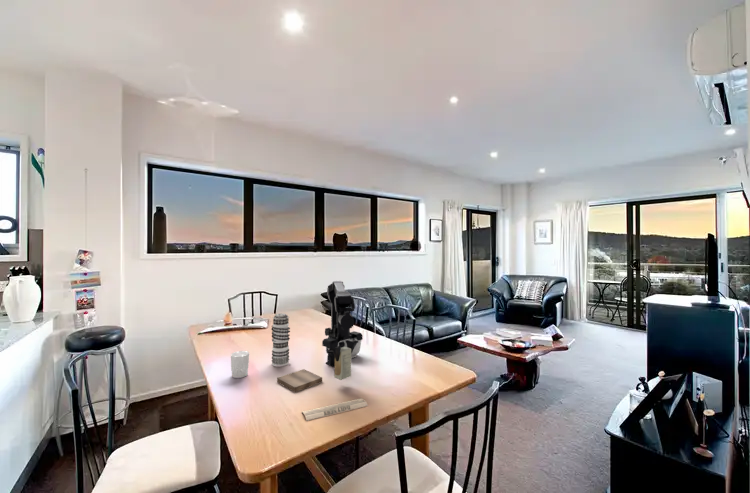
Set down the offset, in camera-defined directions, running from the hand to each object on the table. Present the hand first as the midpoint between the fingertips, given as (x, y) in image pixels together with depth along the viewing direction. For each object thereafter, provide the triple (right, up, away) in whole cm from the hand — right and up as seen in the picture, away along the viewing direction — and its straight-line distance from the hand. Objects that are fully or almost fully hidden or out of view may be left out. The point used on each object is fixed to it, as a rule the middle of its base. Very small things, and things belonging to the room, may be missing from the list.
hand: (342, 359), depth 140 cm
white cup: (-49, -11, +9) cm, 51 cm away
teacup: (+1, -12, +38) cm, 40 cm away
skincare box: (0, -8, 0) cm, 8 cm away
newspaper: (0, -12, -21) cm, 24 cm away
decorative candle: (-34, -11, +25) cm, 44 cm away
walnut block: (-19, -12, +3) cm, 23 cm away
